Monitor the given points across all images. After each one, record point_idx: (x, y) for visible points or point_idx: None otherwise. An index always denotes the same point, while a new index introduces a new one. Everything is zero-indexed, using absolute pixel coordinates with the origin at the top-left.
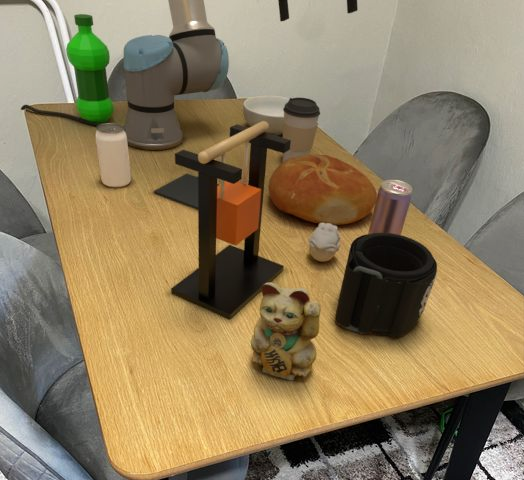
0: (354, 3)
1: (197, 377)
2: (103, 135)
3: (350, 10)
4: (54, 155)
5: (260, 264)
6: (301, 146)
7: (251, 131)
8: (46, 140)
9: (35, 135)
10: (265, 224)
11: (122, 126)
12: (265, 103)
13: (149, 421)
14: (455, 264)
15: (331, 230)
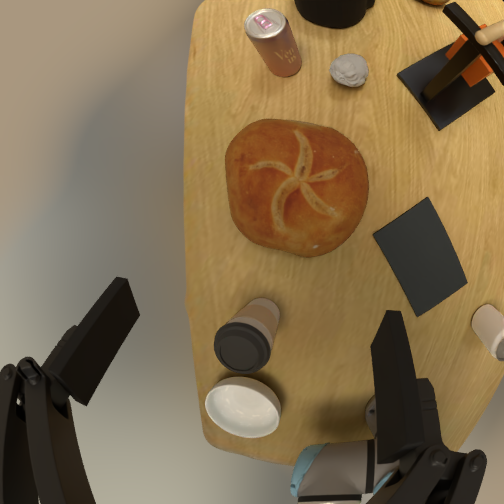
0: (113, 292)
1: (476, 15)
2: None
3: (131, 301)
4: (491, 382)
5: (420, 84)
6: (259, 308)
7: (499, 23)
8: (478, 411)
9: (478, 420)
10: (383, 164)
11: (497, 349)
12: (240, 428)
13: (495, 9)
14: (211, 48)
15: (345, 59)
